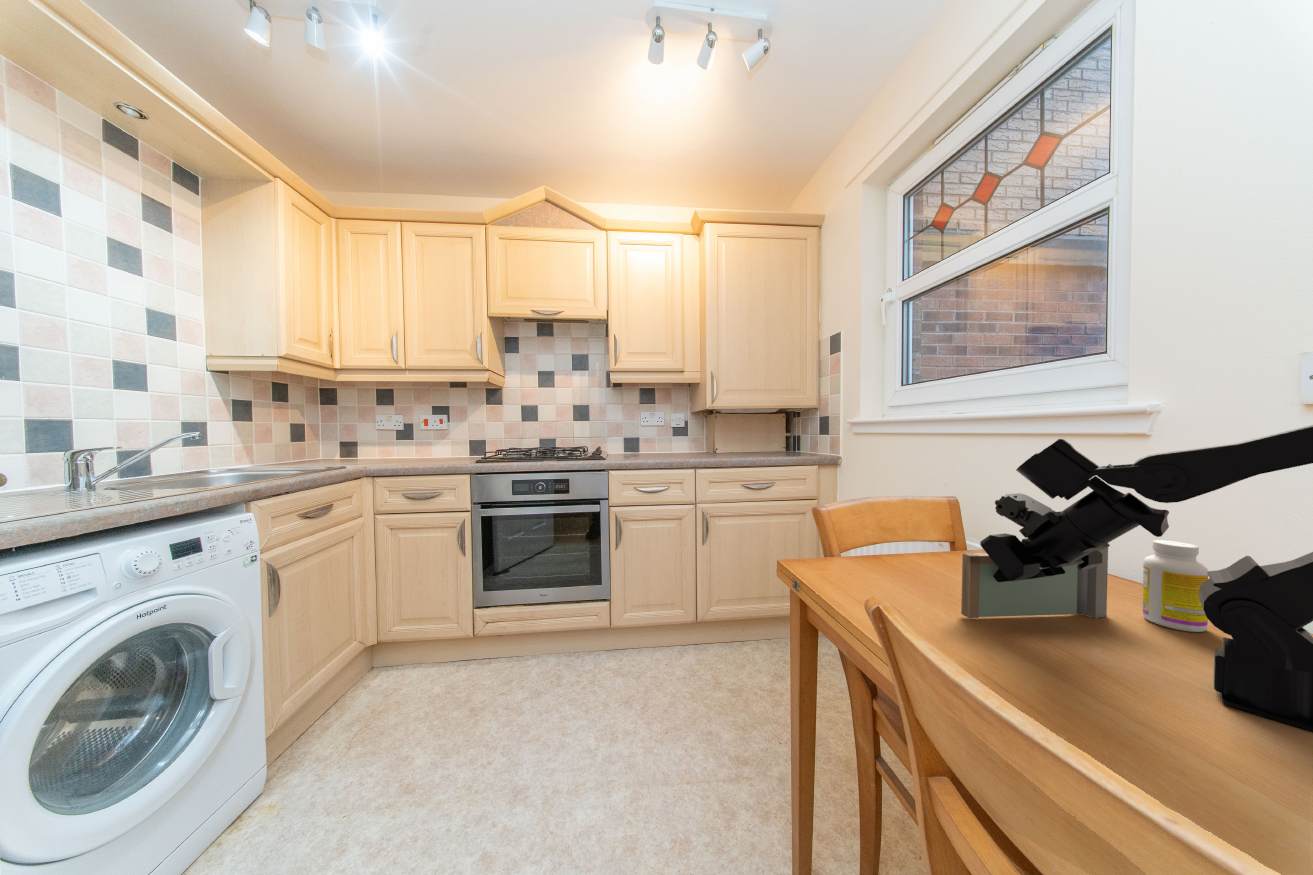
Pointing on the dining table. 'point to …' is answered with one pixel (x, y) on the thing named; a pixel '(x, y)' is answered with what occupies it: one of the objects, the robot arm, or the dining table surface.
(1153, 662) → the dining table surface
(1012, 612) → the gate
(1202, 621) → the supplement bottle
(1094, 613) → the gatepost
